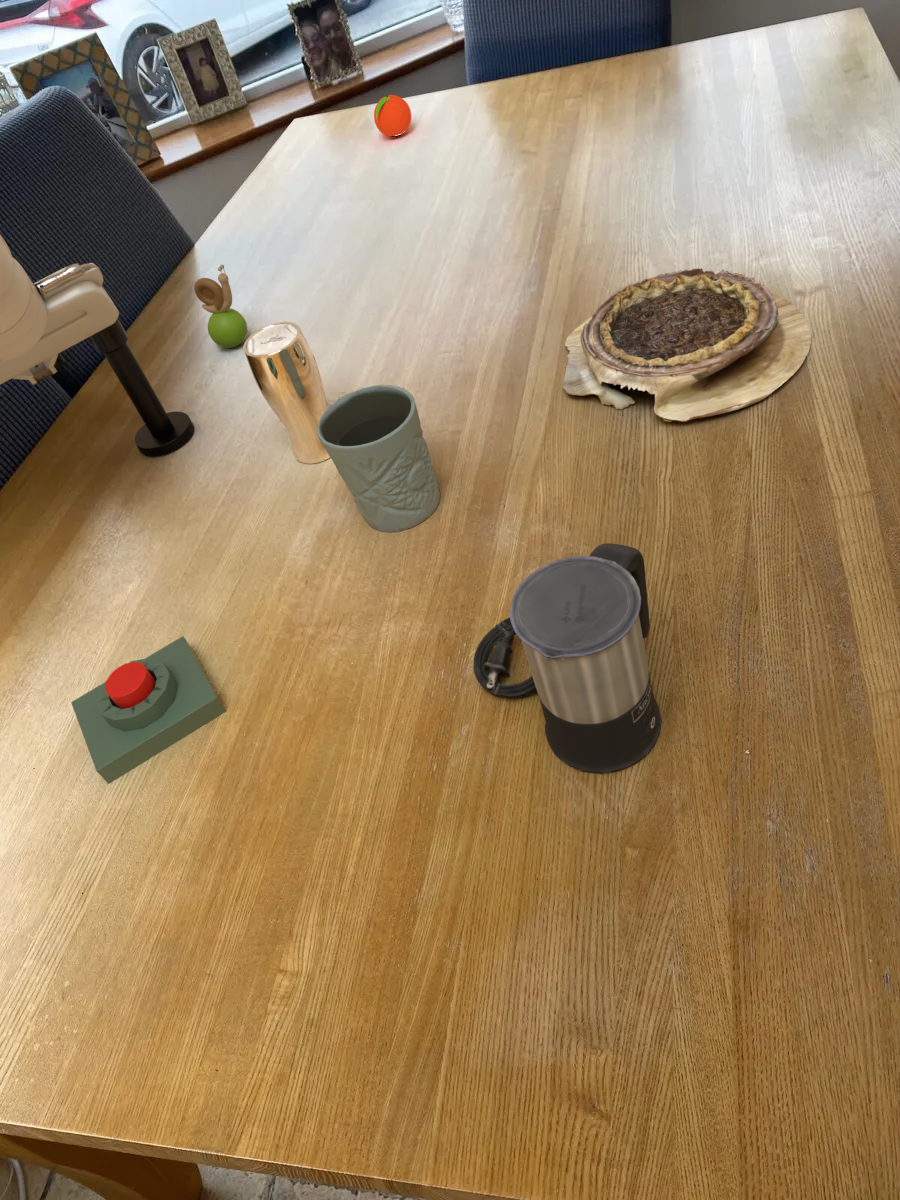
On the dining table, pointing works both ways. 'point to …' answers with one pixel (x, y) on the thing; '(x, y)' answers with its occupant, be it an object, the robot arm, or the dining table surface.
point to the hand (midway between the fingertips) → (42, 373)
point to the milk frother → (582, 657)
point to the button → (129, 684)
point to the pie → (688, 344)
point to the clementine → (392, 115)
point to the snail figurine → (221, 311)
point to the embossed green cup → (382, 456)
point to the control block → (148, 712)
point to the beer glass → (290, 385)
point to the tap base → (150, 408)
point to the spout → (103, 341)
